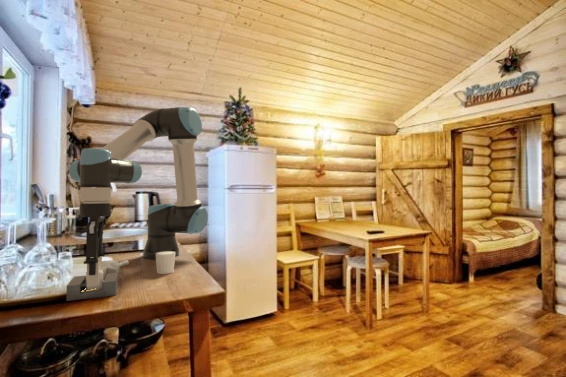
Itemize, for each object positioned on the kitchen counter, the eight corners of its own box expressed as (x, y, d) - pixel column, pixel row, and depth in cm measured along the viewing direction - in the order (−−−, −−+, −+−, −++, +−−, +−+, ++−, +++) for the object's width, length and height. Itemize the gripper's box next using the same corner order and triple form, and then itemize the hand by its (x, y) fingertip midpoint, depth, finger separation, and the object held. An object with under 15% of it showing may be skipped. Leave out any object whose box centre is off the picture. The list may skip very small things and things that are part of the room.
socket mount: (74, 290, 90) (74, 276, 90) (118, 285, 95) (118, 272, 95) (66, 300, 81) (66, 285, 81) (115, 295, 86) (115, 281, 86)
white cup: (168, 275, 107) (168, 255, 107) (151, 273, 108) (151, 254, 108) (179, 270, 114) (179, 251, 114) (162, 269, 115) (162, 250, 115)
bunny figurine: (78, 270, 97) (106, 254, 112) (79, 285, 98) (107, 268, 113) (108, 270, 97) (132, 255, 112) (109, 286, 98) (132, 268, 113)
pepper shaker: (85, 292, 89) (86, 259, 89) (101, 289, 91) (102, 257, 91) (86, 296, 85) (87, 261, 85) (103, 293, 88) (103, 260, 88)
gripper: (86, 201, 95) (85, 275, 95) (72, 204, 78) (71, 294, 78) (113, 201, 99) (112, 272, 98) (106, 203, 81) (105, 291, 81)
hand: (94, 282), depth 88 cm, fingers open, 6 cm apart
